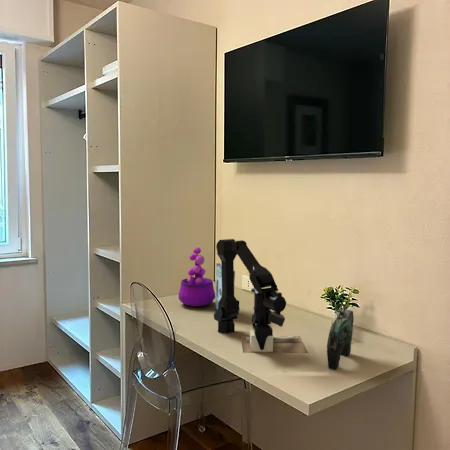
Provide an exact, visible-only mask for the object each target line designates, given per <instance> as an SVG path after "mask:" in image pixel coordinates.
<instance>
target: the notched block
mask: <svg viewBox="0 0 450 450" xmlns="http://www.w3.org/2000/svg"><path fill="white" fill-rule="evenodd" d="M249 336H250V347H251V352H273V336H274V334H273V335H272V336H268V337H267V339H266V342H265V346H264V349H263V350H260V347H259V344H258V342H257V339H256V336H255V333H254V329H253V330H251V329H250V330H249Z"/></svg>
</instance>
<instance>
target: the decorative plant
mask: <svg viewBox="0 0 450 450" xmlns="http://www.w3.org/2000/svg"><path fill="white" fill-rule="evenodd" d="M192 250H193V253H191V254H189V257H188V258H189V260H190V261H191V262H192V261H194V266H193V267H191V268H188V270H187V274H188V275H189V277H187V278H183V279H181V282H180V286H179V289H178V299H179V301H180V302H181V303H182V304H184V305H186V306H190V307H202V306H206V305H209V304H212V303H213V301H215V300H216V290H215V289H214V283H213V280H212V279H211V278H207V277H204V275H205V274H206V269H205V268H204V267H202V265H203V264H204V263H205V257H204V256H203V255H200V254H201V252H202V250H201V247H199V246H195V247H194V248H193V249H192Z"/></svg>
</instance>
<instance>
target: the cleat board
mask: <svg viewBox="0 0 450 450" xmlns="http://www.w3.org/2000/svg"><path fill="white" fill-rule="evenodd" d="M240 343H241V347H242V353H243V354H248V353H249V354H251V353H252V354H253V353H254V354H261V353H262V354H309V351H308V349H307V347H306V345H305V343H304V341H303V340H302V338H301V336H300V335H298V336H297V335H296V336H295V335H294V336H293V335H287V336H285V335H279V336H278V335H273V352H251V347H250V335H240Z"/></svg>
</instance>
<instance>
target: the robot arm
mask: <svg viewBox="0 0 450 450" xmlns="http://www.w3.org/2000/svg"><path fill="white" fill-rule="evenodd" d="M216 254H217V256H218V258H219V259H220V262H221V265H222V297H221V299H220V301H219V303H218V309H216V310H215V312H214V313H213V319H214V321H216V322H217V332H218V333H220V334H231V333H235V331H236V329H235V324H236V323H235V322H234V320H237V319H238V317H239V313H240V310H241V309H240V300H238V299H237V297H236V296H235V283H234V271H235V269H234V267H235V266H234V263H235V258H236V257H237V256H238V257H239V259H240V261H241V263H242V264H243V265H244V267H245V268H246V270H247V272H248V273H249V276H248V277H249V280H250V283H251V284H252V289H251V290H250V292H252V293H254V294H253V295H254V296H253V298H254V300H253V301H254V302H253V303H254V304H253V314H251V323H252V328H253V330H254V333H255V336H256V339H257V342H258V344H259V347H260V350H263V349H264V346H265V342H266V339H267V337H268V336H272V335H273V336H274V334H273V328H272V326H271V325H272V324H275V325H277V326H279V327H283V325H284V323H285V320H286V317H285V316H284V315H283V314H282V313H281V312H283V311H285V309H286V308H287V307H286V306H287V301H286V298H285V297H284V296H283V293H282V292H279V288H278V285H277V283H276V281H275V279H274V276H273V274H272V272H271V271H270V270H269V269H267V268H266V267H265V266H262V265H261V264H260V263H259V262H258V260H257V258H256V257H255V256H254V254H253V253H252V251H251V250H250V248H249V247H248V244H247V241H245V240H243V239H242V240H235V238H228V239H227V238H225V239H219V240H218V241H217V242H216Z"/></svg>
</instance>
